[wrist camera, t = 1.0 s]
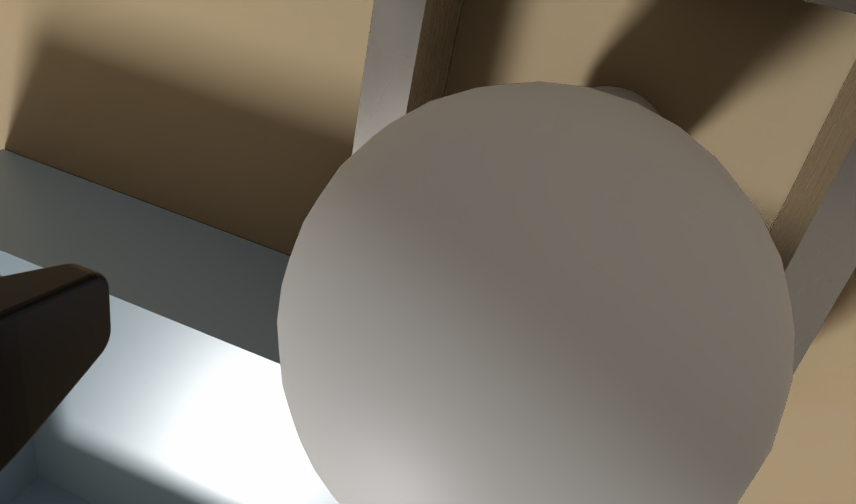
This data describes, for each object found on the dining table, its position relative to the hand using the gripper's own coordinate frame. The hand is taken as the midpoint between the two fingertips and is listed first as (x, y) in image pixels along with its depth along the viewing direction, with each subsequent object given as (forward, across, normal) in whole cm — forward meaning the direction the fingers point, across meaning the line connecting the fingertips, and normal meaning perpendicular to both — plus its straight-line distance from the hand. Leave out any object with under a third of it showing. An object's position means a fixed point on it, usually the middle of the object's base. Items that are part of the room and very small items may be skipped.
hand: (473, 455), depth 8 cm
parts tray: (+10, +10, +13) cm, 19 cm away
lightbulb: (+10, 0, 0) cm, 10 cm away
